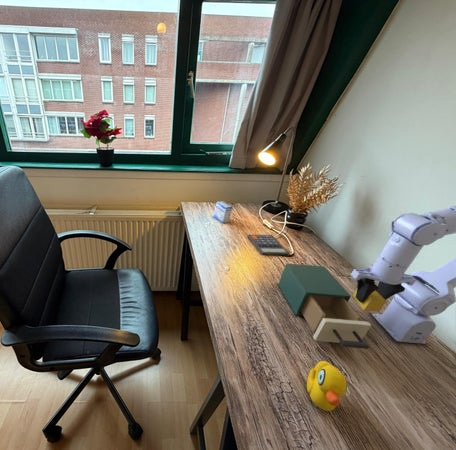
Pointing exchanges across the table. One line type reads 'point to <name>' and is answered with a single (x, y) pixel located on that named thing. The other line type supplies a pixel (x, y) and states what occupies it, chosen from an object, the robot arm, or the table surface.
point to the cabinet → (308, 284)
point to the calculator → (268, 245)
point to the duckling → (326, 385)
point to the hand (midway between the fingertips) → (367, 300)
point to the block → (371, 302)
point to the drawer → (335, 321)
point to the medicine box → (223, 211)
